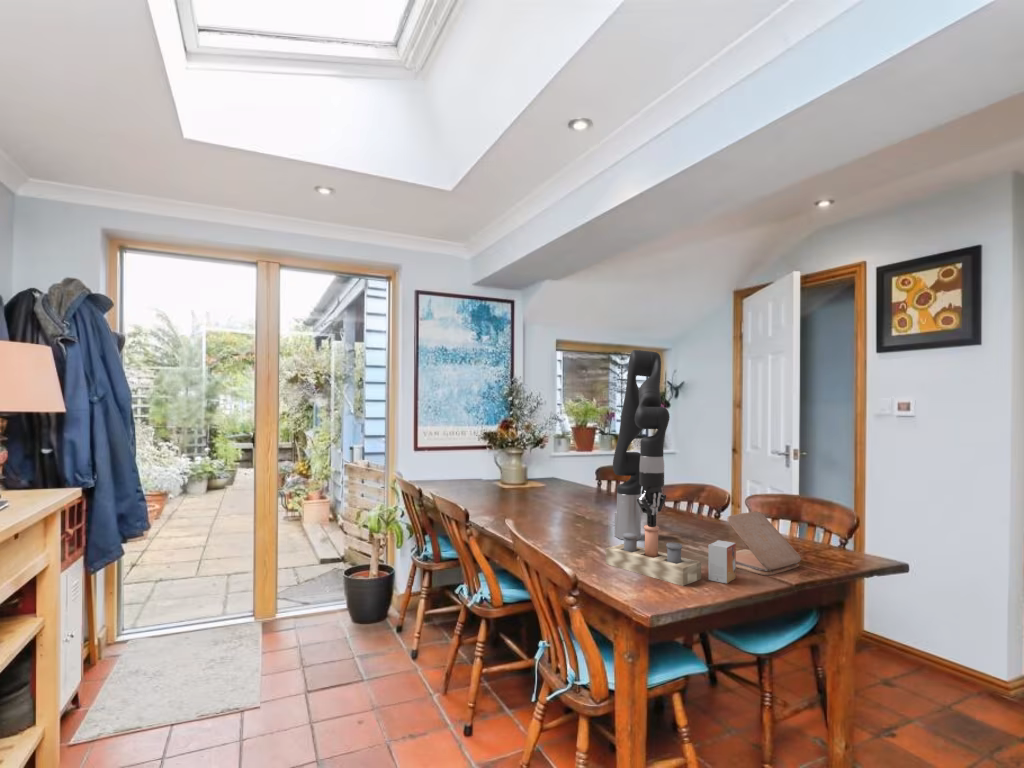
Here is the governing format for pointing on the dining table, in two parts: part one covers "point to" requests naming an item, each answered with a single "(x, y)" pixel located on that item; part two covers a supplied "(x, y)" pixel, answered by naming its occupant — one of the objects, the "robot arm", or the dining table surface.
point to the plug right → (674, 552)
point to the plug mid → (651, 541)
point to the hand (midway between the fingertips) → (651, 526)
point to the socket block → (654, 565)
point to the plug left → (630, 542)
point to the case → (762, 545)
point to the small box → (722, 561)
